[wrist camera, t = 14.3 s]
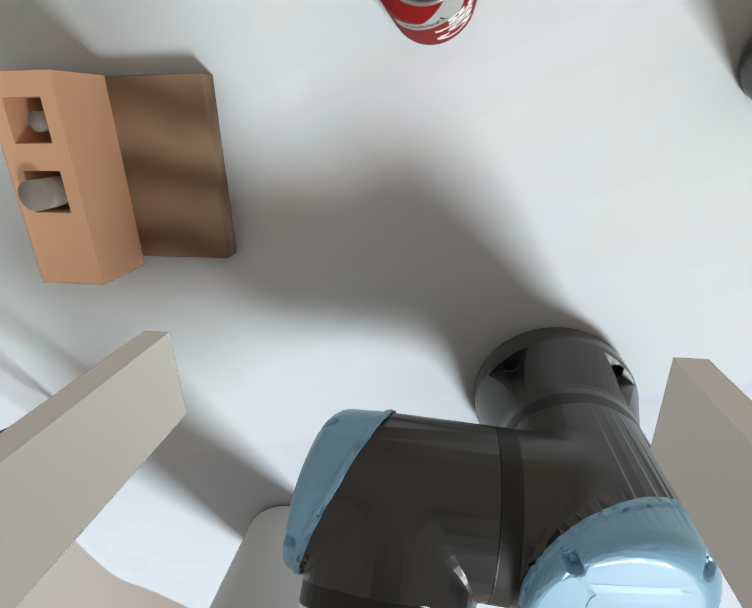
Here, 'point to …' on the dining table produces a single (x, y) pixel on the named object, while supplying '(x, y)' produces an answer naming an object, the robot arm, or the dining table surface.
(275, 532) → the cylinder vase
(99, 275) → the block
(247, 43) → the dining table surface
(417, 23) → the soda can
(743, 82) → the supplement bottle
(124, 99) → the post base
